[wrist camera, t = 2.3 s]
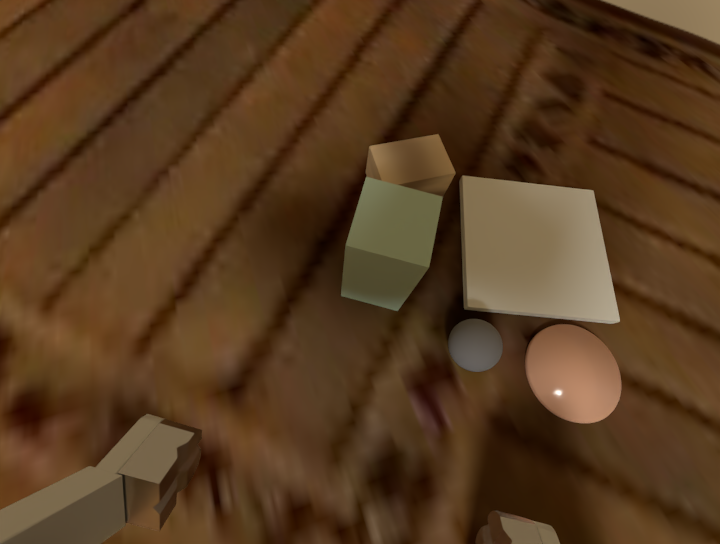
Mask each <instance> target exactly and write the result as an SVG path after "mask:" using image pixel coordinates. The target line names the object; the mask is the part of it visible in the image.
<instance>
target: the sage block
mask: <svg viewBox="0 0 720 544" xmlns="http://www.w3.org/2000/svg"><path fill="white" fill-rule="evenodd" d="M442 199H443V197H442V196H438V195H434V194H430V193H427V192H423V191H419V190H415V189H411V188H408V187H404V186H400V185H396V184H392V183H388V182H385V181H381V180H377V179H373V178H369V177H366V179H365V182H364V186H363V189H362V192H361V196H360V199H359V202H358V205H357V209H356V212H355V215H354V219H353V222H352V225H351V229H350V232H349V235H348V239H347V242H346V245H345V256H344V267H343V277H342V288H341V296H343V297H347V298H351V299H354V300H358V301H362V302H366V303H369V304H373V305H377V306H381V307H384V308H388V309H392V310H395V311H398V310H399V309H400V307H401V306H402V304H403V303H404V302H405V300H406V299H407V297H408V296H409V295H410V293H411V292H412V291H413V289H414V288H415V286H416V285H417V284H418V282H419V281H420V280H421V278H422V277H423V275H424V274H425V273H426V271H427V270H428V269H429V266H430V261H431V255H432V250H433V245H434V240H435V235H436V230H437V224H438V219H439V214H440V209H441V204H442Z"/></svg>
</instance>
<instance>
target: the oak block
mask: <svg viewBox="0 0 720 544" xmlns="http://www.w3.org/2000/svg"><path fill="white" fill-rule="evenodd" d="M455 174H456V172H455V170H454V168H453V166H452V163H451V161H450V159H449V157H448V154H447V152H446V150H445V148H444V146H443V143H442V141H441V139H440V137H439V134H436V135H430V136H424V137H418V138H413V139H407V140H401V141H395V142H390V143H384V144H378V145H373V146H369V152H368V159H367V166H366V175H367V177H369V178H373V179H377V180H381V181H385V182H388V183H392V184H396V185H400V186H404V187H408V188H411V189H415V190H419V191H423V192H427V193H430V194H434V195H438V196H442V197H443V196H444V194H445V192H446V190H447V189H448V187H449V185H450V183H451V181H452V179H453V177H454V176H455Z"/></svg>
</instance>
